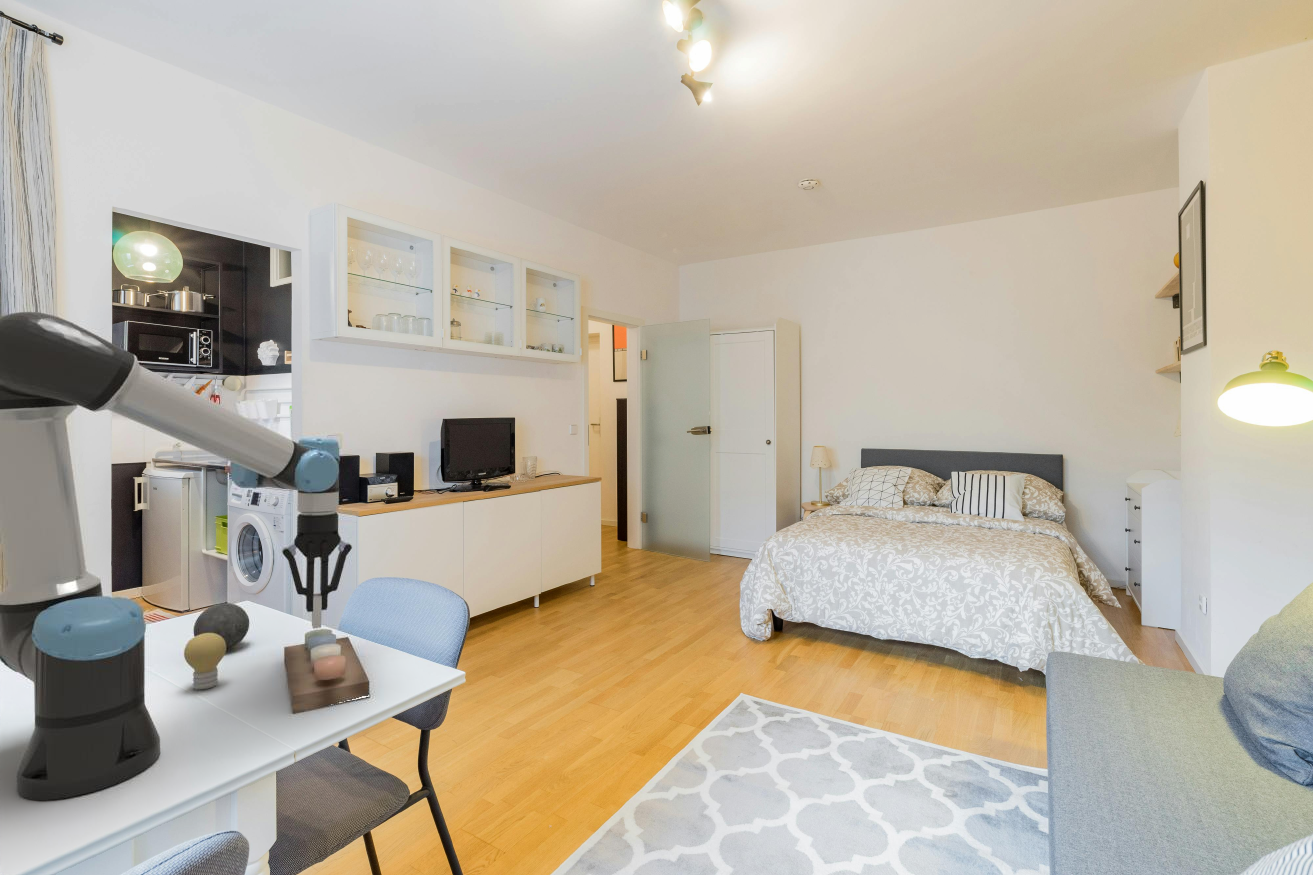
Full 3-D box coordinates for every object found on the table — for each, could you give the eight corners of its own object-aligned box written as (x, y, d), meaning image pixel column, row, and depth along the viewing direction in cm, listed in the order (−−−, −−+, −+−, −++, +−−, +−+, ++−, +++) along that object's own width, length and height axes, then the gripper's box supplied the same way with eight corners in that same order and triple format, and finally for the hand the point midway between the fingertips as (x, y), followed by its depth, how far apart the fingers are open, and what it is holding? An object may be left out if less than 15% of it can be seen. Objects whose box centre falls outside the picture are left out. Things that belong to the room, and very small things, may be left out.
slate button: (308, 656, 122) (308, 643, 122) (306, 649, 126) (306, 636, 126) (337, 652, 125) (337, 638, 125) (334, 644, 129) (334, 631, 129)
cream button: (312, 668, 116) (311, 654, 116) (309, 660, 120) (309, 646, 120) (342, 663, 119) (342, 649, 119) (338, 655, 123) (338, 641, 123)
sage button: (305, 651, 128) (305, 638, 128) (303, 643, 132) (303, 631, 132) (333, 646, 131) (333, 634, 131) (330, 639, 135) (330, 627, 135)
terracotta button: (315, 681, 110) (315, 667, 110) (312, 672, 115) (312, 658, 115) (347, 675, 113) (347, 661, 113) (343, 666, 117) (343, 652, 117)
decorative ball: (199, 645, 140) (199, 600, 140) (252, 639, 144) (252, 595, 144) (188, 660, 131) (188, 612, 131) (245, 653, 135) (245, 607, 135)
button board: (292, 713, 108) (292, 695, 108) (284, 661, 131) (284, 646, 131) (369, 697, 114) (369, 680, 114) (348, 650, 138) (348, 636, 138)
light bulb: (177, 689, 117) (176, 635, 117) (214, 677, 123) (214, 626, 122) (196, 696, 114) (195, 641, 114) (233, 684, 120) (233, 631, 119)
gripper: (350, 508, 138) (348, 617, 138) (280, 512, 130) (279, 626, 131) (355, 512, 131) (353, 626, 131) (282, 516, 124) (280, 636, 124)
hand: (316, 626), depth 131 cm, fingers closed
